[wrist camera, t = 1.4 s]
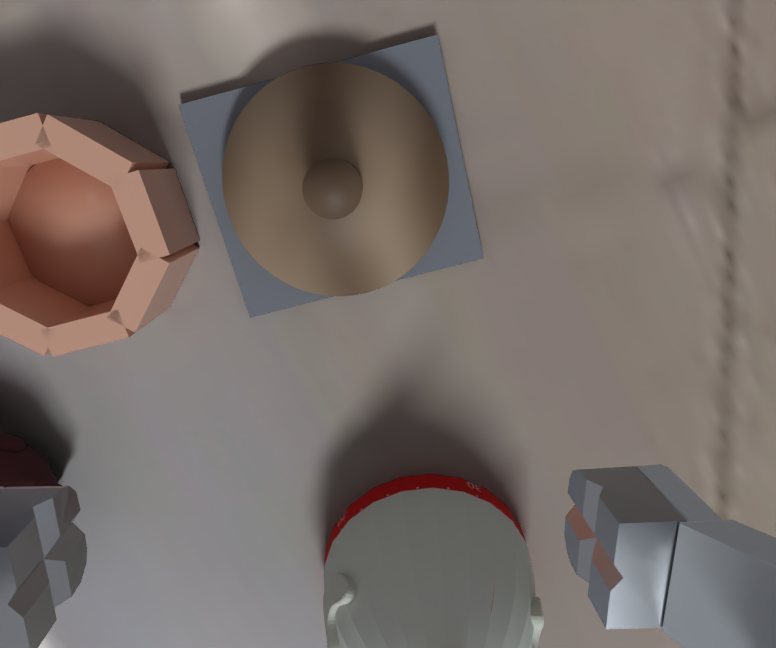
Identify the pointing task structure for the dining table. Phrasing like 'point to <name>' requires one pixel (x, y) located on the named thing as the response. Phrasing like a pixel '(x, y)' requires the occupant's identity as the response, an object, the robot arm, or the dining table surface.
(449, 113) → the mat
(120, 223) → the bowl
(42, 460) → the icecream
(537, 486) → the dining table surface
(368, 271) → the lid
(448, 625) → the kitchen timer
